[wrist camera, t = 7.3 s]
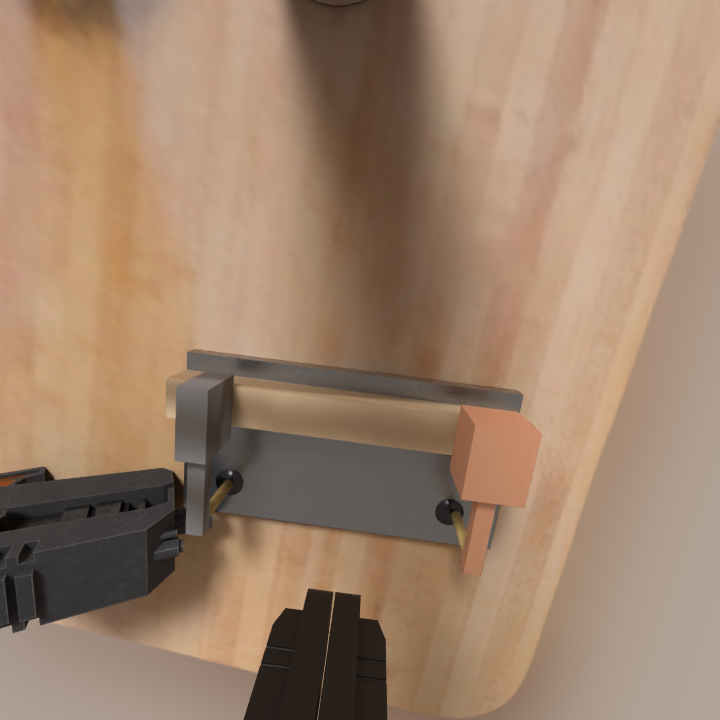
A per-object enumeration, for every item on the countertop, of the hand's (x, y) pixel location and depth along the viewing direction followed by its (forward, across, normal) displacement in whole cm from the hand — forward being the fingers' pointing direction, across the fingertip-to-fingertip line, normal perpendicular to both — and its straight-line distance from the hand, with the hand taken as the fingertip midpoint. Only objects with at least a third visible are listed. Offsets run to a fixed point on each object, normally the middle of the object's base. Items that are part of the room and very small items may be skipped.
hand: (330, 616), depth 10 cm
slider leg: (+20, -9, +4) cm, 22 cm away
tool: (+21, +22, +12) cm, 33 cm away
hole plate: (+21, +1, +5) cm, 22 cm away
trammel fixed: (+20, +1, +4) cm, 20 cm away
